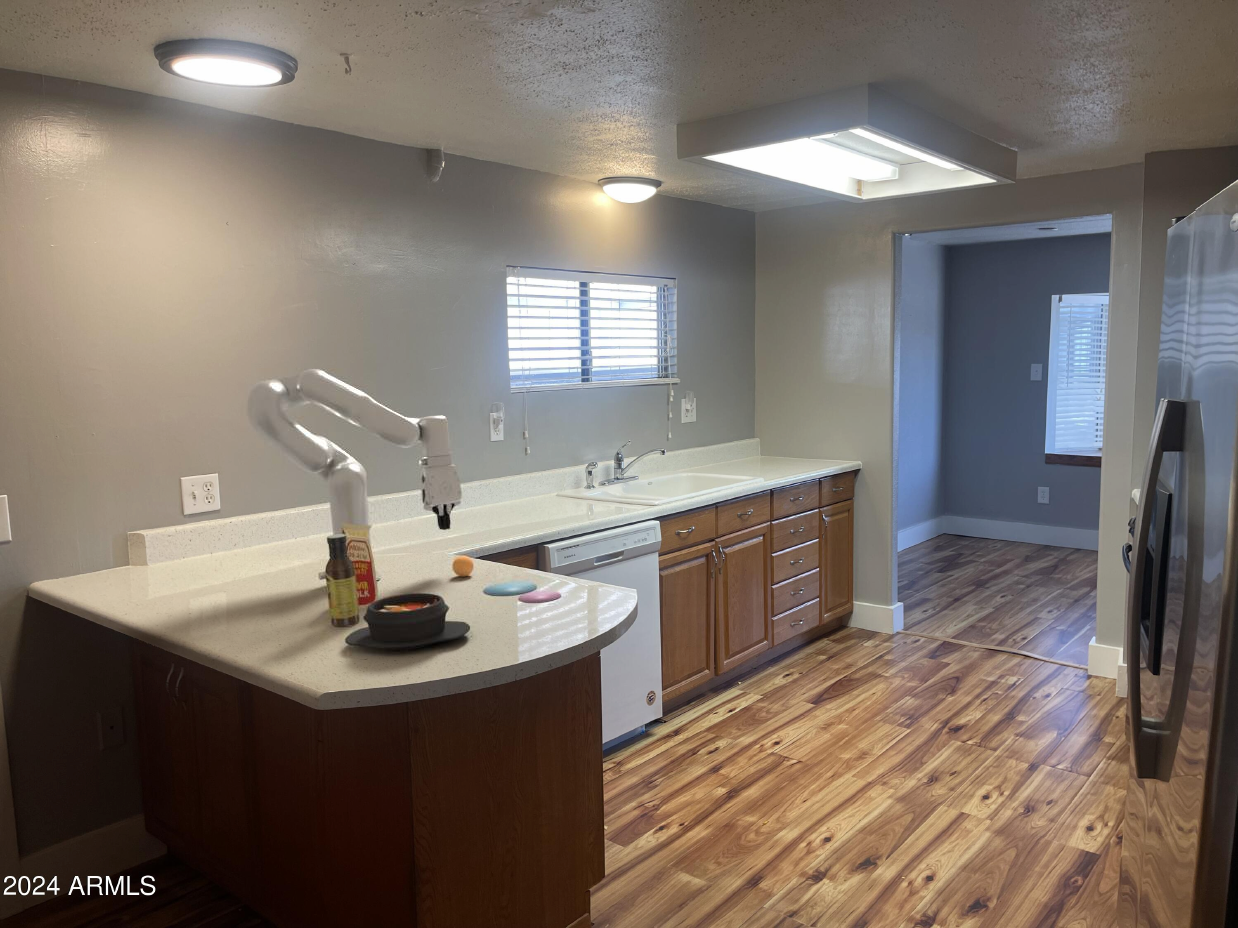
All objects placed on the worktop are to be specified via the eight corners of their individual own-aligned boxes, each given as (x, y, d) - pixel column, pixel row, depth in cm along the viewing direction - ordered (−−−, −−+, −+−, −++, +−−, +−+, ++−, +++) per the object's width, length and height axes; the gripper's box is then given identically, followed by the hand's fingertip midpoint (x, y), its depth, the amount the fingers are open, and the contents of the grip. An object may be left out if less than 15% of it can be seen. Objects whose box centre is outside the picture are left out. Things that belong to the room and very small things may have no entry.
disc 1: (502, 598, 218) (502, 597, 218) (473, 590, 228) (473, 589, 228) (547, 587, 226) (547, 586, 226) (517, 579, 236) (517, 579, 236)
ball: (460, 579, 240) (458, 559, 239) (449, 576, 244) (447, 556, 243) (478, 575, 243) (476, 555, 243) (467, 572, 248) (465, 552, 247)
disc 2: (534, 604, 211) (534, 604, 211) (510, 597, 218) (510, 597, 218) (569, 595, 217) (569, 595, 217) (544, 589, 225) (544, 588, 225)
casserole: (476, 625, 197) (473, 587, 196) (463, 653, 178) (460, 610, 178) (359, 632, 197) (355, 594, 196) (334, 660, 178) (330, 618, 177)
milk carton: (344, 611, 215) (336, 526, 213) (337, 603, 223) (329, 521, 221) (383, 604, 219) (376, 521, 217) (374, 596, 227) (367, 516, 225)
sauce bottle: (335, 620, 207) (327, 533, 205) (363, 618, 207) (355, 531, 205) (326, 628, 201) (317, 538, 198) (355, 627, 201) (346, 537, 198)
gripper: (419, 466, 240) (426, 535, 242) (468, 458, 250) (475, 525, 252) (405, 465, 246) (413, 532, 248) (454, 457, 255) (461, 522, 257)
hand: (444, 528), depth 250 cm, fingers closed
